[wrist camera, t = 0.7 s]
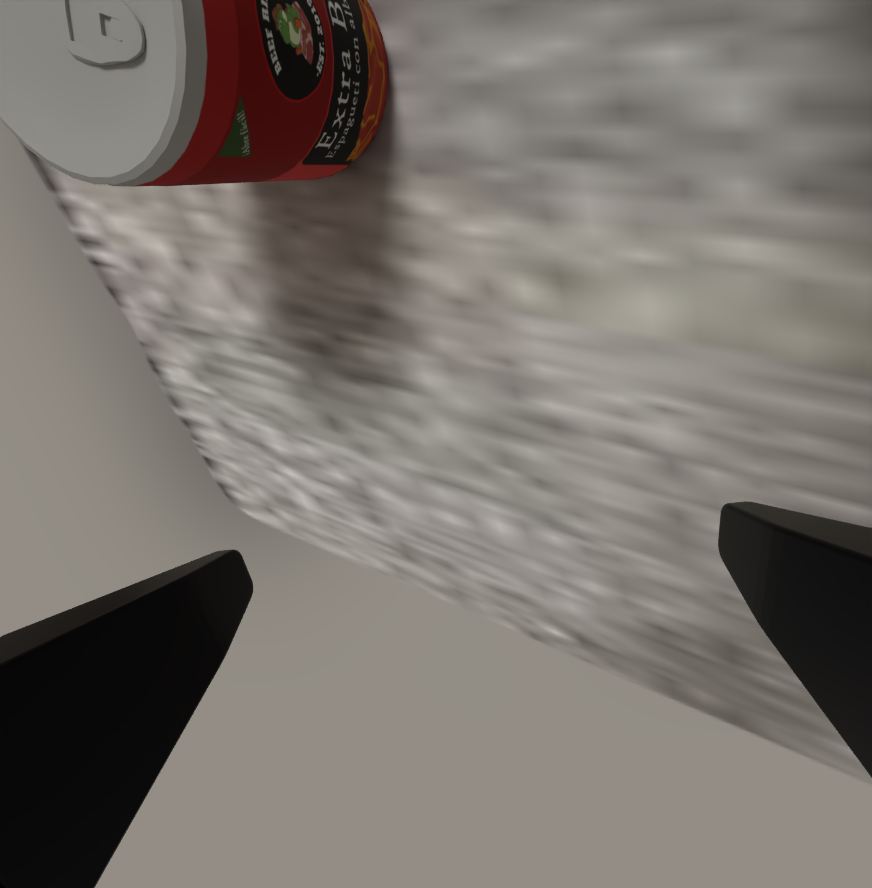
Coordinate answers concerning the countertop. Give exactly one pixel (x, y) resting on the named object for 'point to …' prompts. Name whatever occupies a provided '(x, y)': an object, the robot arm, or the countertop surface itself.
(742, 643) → the countertop surface
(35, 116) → the canned food
